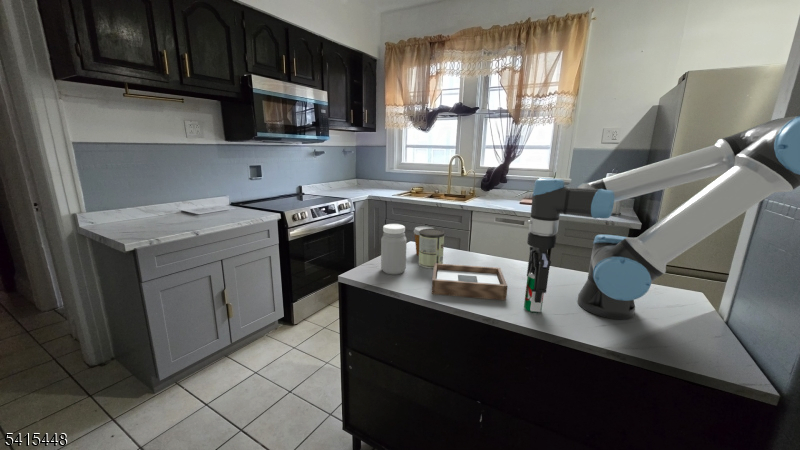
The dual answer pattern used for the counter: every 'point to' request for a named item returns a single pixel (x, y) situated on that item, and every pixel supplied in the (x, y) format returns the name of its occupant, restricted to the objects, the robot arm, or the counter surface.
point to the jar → (393, 249)
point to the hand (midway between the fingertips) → (532, 306)
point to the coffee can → (431, 247)
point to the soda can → (530, 292)
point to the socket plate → (467, 276)
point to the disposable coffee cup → (417, 234)
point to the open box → (469, 283)
